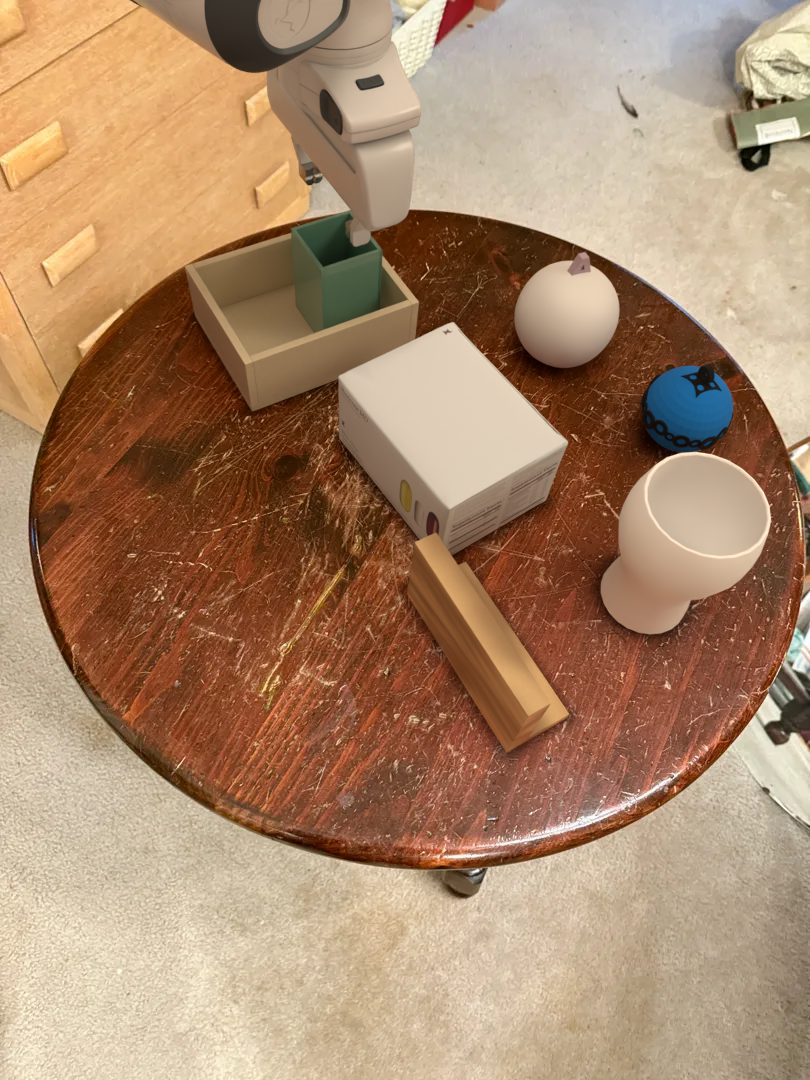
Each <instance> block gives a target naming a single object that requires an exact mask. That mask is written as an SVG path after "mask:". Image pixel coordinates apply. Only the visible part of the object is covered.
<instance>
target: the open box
mask: <svg viewBox="0 0 810 1080" xmlns="http://www.w3.org/2000/svg"><path fill="white" fill-rule="evenodd" d="M184 270H185V274H186V279H187V284H188V289H189V294H190V298H191V303H192V309H193V313H194V317H195V319H196V320H197V322H198V324H199V325H200V327H201V329H202V331H203V332H204V334H205V335H206V337H207V339H208V341H209V342H210V344H211V346H212V348H213V349H214V351H215V352H216V354H217V356H218V357H219V359H220V360H221V362H222V365H224V368H225V369H226V371H227V373H228V374H229V376H230V377H231V379H232V380H233V383H234V384H235V385H236V388H237V389H238V391H239V392H240V394H241V396H242V397H243V399H244V401H245V402H246V404H247V406H248V408H249V409H250V411H251V412H256V411H258V410H261V409H264V408H265V407H268V406H272V405H274V404H276V403H279V402H282V401H284V400H287V399H290V398H292V397H296V396H297V395H298V396H299V395H300V394H303V393H306V392H308V391H311V390H314V389H316V388H319V387H322V386H324V385H328V384H329V383H332V382H335V381H337V380H338V377H339V375H342V374H344V373H346V372H347V371H349V370H352V369H354V368H356V367H358V366H360V365H362V364H364V363H366V362H369V361H371V360H373V359H375V358H377V357H379V356H381V355H384V354H386V353H388V352H390V351H392V350H394V349H396V348H398V347H400V346H402V345H404V344H407V343H409V342H411V341H413V340H415V339H416V334H417V325H418V316H419V315H418V314H419V308H420V307H419V306H420V301H419V299H417V298H416V297H415V295H414V294H413V293H412V291H411V290H410V289H409V287H408V286H407V285H406V284H405V282H404V280H402V279H401V277H400V276H399V274H398V273H397V272H396V271H395V269H394V268H393V267H392V266H391V264H390V263H389V261H388V260H387V259H386V258H385V257H384V256H383V257H382V277H381V296H380V310H378V311H375V312H372V313H369V314H366V315H364V316H361V317H358V318H355V319H352V320H350V321H347V322H344V323H341V324H338V325H335V326H333V327H330V328H327V329H324V330H321V331H319V332H316V333H314V332H313V331H312V329H311V328H310V326H309V325H308V323H307V322H306V320H305V319H304V317H303V316H302V314H301V313H300V312H299V310H298V309H297V307H296V301H295V286H294V270H293V255H292V240H291V232H289V233H286V234H283V235H279V236H277V237H274V238H273V237H272V238H270V239H266V240H263V241H261V242H258V243H254V244H252V245H248V246H244V247H241V248H237V249H235V250H232V251H228V252H225V253H222V254H218V255H216V256H212V257H209V258H206V259H202V260H199V261H195V262H193V263H190V264H186V265H184Z"/></svg>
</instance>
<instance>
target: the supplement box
mask: <svg viewBox="0 0 810 1080" xmlns="http://www.w3.org/2000/svg"><path fill="white" fill-rule="evenodd" d="M337 380H338V439H339V440H340V441H341V443H342V444H343V445H344V447H345V448H346V449H347V450H348V451H349V453H350V454H351V455H352V456H353V458H354V459H355V460H356V462H358V464H359V465H360V466H361V467H362V469H363V470H364V472H365V473H366V474H367V476H369V477H370V479H371V480H372V482H373V483H374V484H375V485H376V486H377V488H378V489H379V490H380V491H381V493H382V494H383V496H385V498H386V499H387V500H388V502H389V503H390V504H391V506H393V508H394V509H395V510H396V512H397V513H398V514H399V516H400V517H401V518H402V520H404V522H405V523H406V524H407V526H408V527H409V528H410V529H411V531H412V532H413V533H414V534H415V536H416V537H417V538H418V540H421V539H423V538H425V537H427V536H429V535H431V534H434V533H437V534H438V536H439V537H440V539H441V540H442V542H443V543H444V545H445V546H446V548H447V549H448V551H449V552H450V554H451V555H452V556H454V555H455V554H457V553H459V552H460V551H462V550H464V549H465V548H467V547H469V546H470V545H472V544H474V543H475V542H478V541H480V540H481V539H482V538H484V537H485V536H487V535H489V534H491V533H493V532H494V531H496V530H497V529H499V528H501V527H503V526H505V525H507V524H508V523H509V522H511V521H513V520H514V519H516V518H519V517H520V516H521V515H523V514H525V513H526V512H528V511H529V510H531V509H533V508H535V507H537V506H539V505H540V504H543V503H544V502H546V501H547V500H548V497H549V494H550V490H551V488H552V485H553V482H554V481H555V477H556V475H557V472H558V469H559V467H560V464H561V461H562V460H563V457H564V454H565V452H566V449H567V447H568V445H569V441H568V440H567V438H565V437H564V435H562V434H561V433H560V432H559V431H558V430H557V429H556V428H555V427H554V426H553V425H552V424H551V423H550V422H549V420H548V419H546V418H545V416H543V414H541V413H540V411H539V410H538V409H537V408H536V407H535V406H534V405H533V404H532V403H531V402H530V401H529V400H528V399H527V398H526V397H525V396H524V395H523V394H522V393H521V392H520V391H519V390H518V389H517V388H516V387H515V386H514V385H513V384H512V383H511V382H510V381H509V380H508V378H507V377H506V376H505V375H504V374H502V372H501V371H500V370H499V369H498V368H497V367H496V366H495V365H494V364H493V363H492V362H491V361H490V360H489V358H487V356H485V355H484V353H482V352H481V350H480V349H478V348H477V347H476V346H475V344H474V343H473V342H472V341H471V340H470V338H468V337H467V336H466V335H465V333H464V332H463V331H462V330H461V328H460V327H458V325H457V324H456V323H455V322H454V321H451V322H449V323H446V324H444V325H442V326H439V327H437V328H435V329H433V330H432V331H431V330H430V331H429V332H428V333H425V334H422V335H421V336H418V337H417V338H415V340H413V341H411V342H409V343H407V344H404V345H402V346H400V347H398V348H396V349H394V350H392V351H390V352H388V353H386V354H384V355H381V356H379V357H377V358H375V359H373V360H371V361H369V362H366V363H364V364H362V365H360V366H358V367H356V368H354V369H352V370H349V371H347V372H346V373H344V374H342V375H339V377H338V379H337Z"/></svg>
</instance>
